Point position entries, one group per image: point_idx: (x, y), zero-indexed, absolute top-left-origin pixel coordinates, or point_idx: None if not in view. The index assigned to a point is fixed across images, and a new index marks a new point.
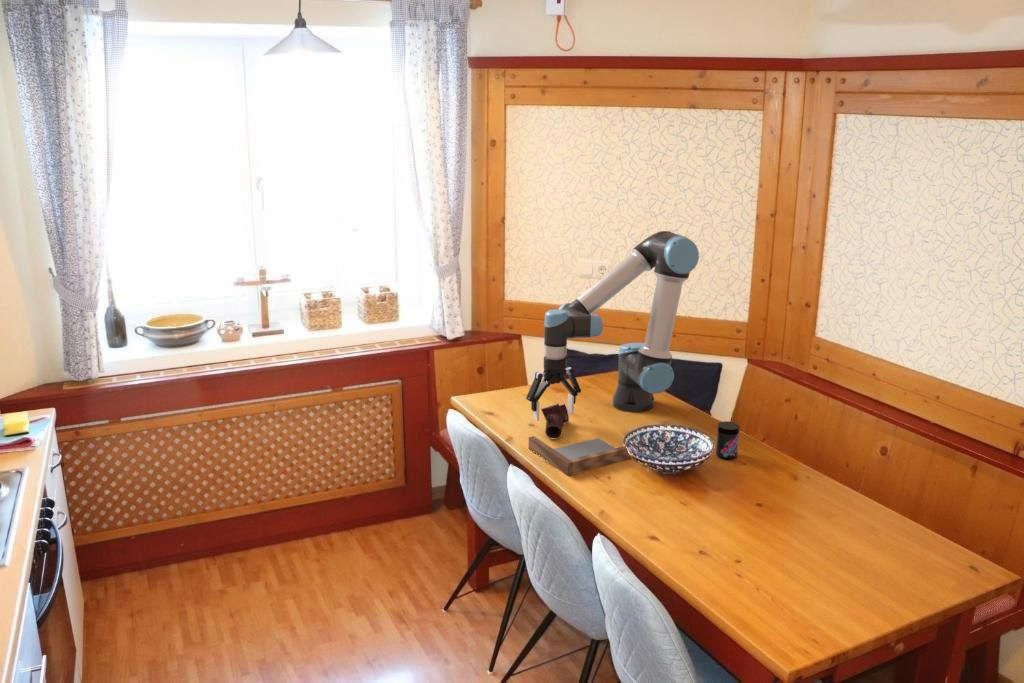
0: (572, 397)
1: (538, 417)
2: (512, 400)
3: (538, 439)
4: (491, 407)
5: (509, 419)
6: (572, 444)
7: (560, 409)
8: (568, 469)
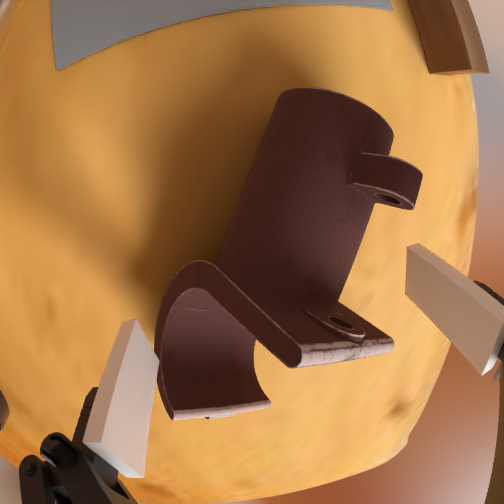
0: (99, 431)
1: (425, 255)
2: (297, 469)
3: (460, 20)
4: (370, 437)
5: (382, 377)
6: (238, 4)
7: (255, 309)
8: None
